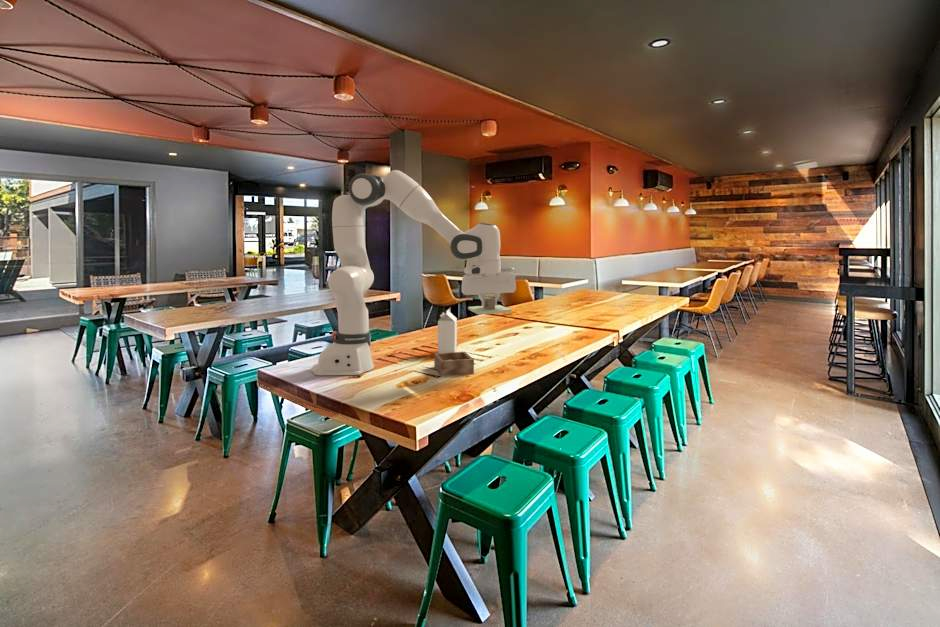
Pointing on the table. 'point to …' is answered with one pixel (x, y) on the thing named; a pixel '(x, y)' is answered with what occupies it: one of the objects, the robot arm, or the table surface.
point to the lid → (489, 308)
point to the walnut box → (453, 363)
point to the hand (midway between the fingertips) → (489, 305)
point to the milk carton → (447, 333)
